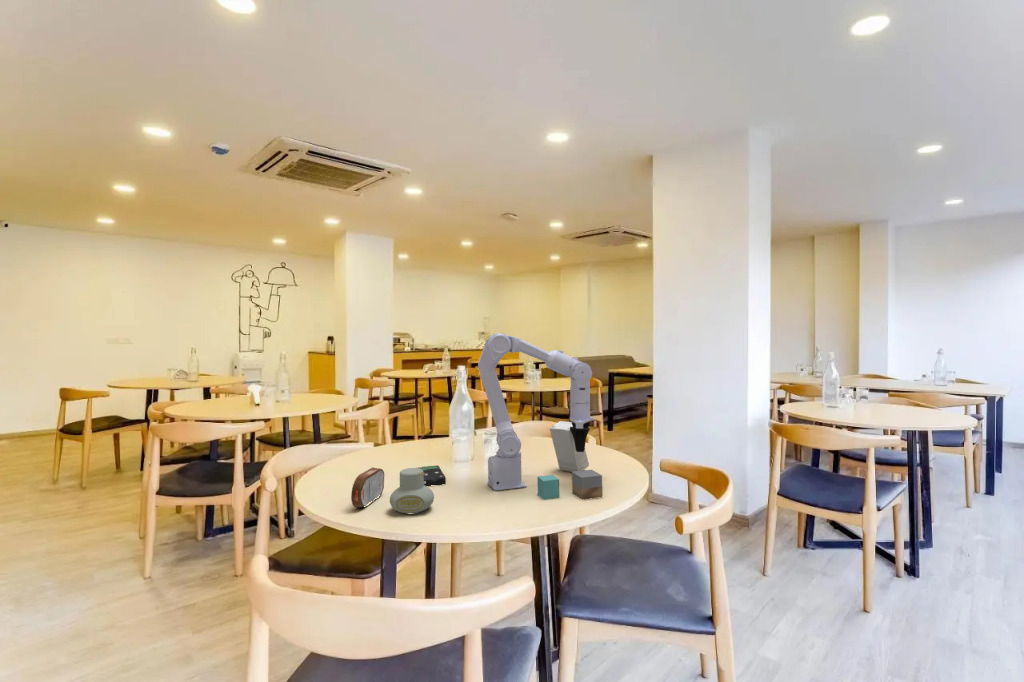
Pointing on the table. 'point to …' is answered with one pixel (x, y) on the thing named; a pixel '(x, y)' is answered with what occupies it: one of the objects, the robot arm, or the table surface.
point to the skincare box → (567, 448)
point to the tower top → (587, 479)
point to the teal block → (548, 487)
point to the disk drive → (433, 475)
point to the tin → (367, 487)
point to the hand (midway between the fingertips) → (580, 448)
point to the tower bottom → (587, 492)
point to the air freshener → (411, 492)
